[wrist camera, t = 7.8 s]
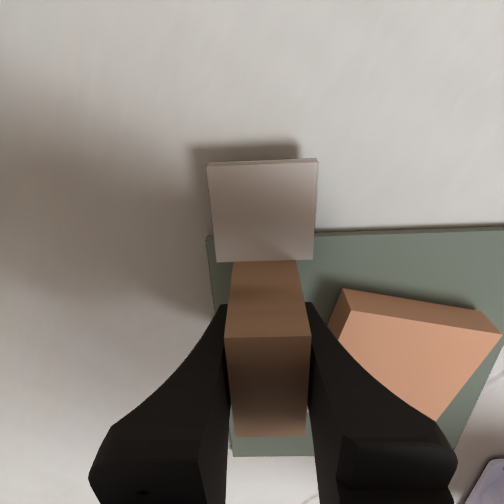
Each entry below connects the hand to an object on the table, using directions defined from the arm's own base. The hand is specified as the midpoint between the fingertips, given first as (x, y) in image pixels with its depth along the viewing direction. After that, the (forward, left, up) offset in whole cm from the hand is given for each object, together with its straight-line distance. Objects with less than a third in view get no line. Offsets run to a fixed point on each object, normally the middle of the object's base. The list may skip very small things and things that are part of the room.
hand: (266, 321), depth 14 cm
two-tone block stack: (0, -2, -2) cm, 3 cm away
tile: (-5, +7, -1) cm, 9 cm away
